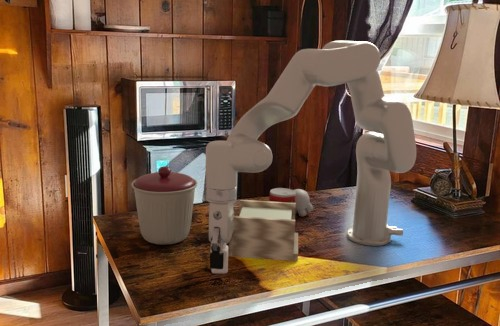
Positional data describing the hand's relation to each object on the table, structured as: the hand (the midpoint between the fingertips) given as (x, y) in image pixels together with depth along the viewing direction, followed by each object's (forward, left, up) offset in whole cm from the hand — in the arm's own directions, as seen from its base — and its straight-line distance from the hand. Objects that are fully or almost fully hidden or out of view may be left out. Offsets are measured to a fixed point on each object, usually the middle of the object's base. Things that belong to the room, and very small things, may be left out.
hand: (219, 259), depth 121 cm
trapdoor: (-10, -16, +5) cm, 19 cm away
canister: (+18, -18, -3) cm, 26 cm away
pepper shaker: (0, 0, -3) cm, 3 cm away
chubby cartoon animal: (-18, -44, -3) cm, 48 cm away
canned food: (-14, -34, -3) cm, 37 cm away
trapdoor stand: (-10, -16, -3) cm, 19 cm away
